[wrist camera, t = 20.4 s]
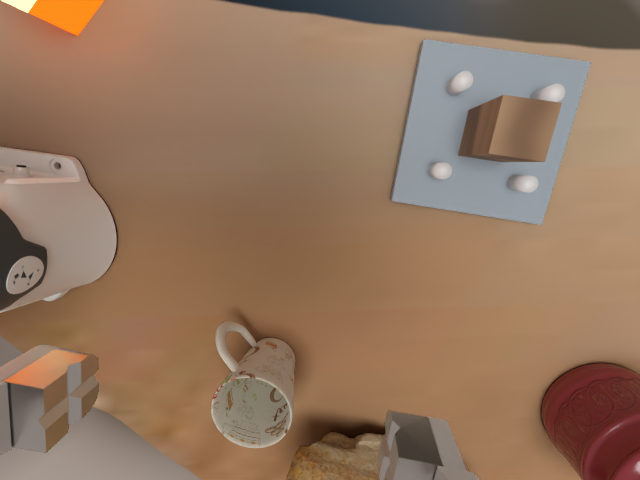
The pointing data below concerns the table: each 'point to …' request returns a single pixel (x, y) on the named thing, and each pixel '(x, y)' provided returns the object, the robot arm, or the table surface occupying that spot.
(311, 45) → the table surface
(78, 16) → the orange juice
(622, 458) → the canister
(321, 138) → the table surface
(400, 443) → the robot arm
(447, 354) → the table surface
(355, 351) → the table surface
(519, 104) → the walnut block
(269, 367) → the mug
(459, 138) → the peg seat
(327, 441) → the rough brown rock
